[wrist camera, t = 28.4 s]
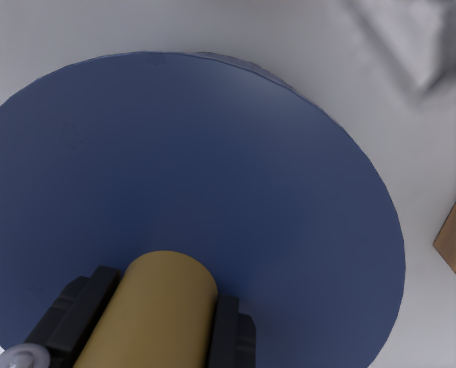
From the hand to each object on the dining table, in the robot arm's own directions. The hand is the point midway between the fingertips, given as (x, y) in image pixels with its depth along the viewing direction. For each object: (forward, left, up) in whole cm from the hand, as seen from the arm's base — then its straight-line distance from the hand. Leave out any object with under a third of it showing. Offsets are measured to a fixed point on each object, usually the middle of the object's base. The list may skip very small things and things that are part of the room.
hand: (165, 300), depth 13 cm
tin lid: (0, 0, -1) cm, 1 cm away
